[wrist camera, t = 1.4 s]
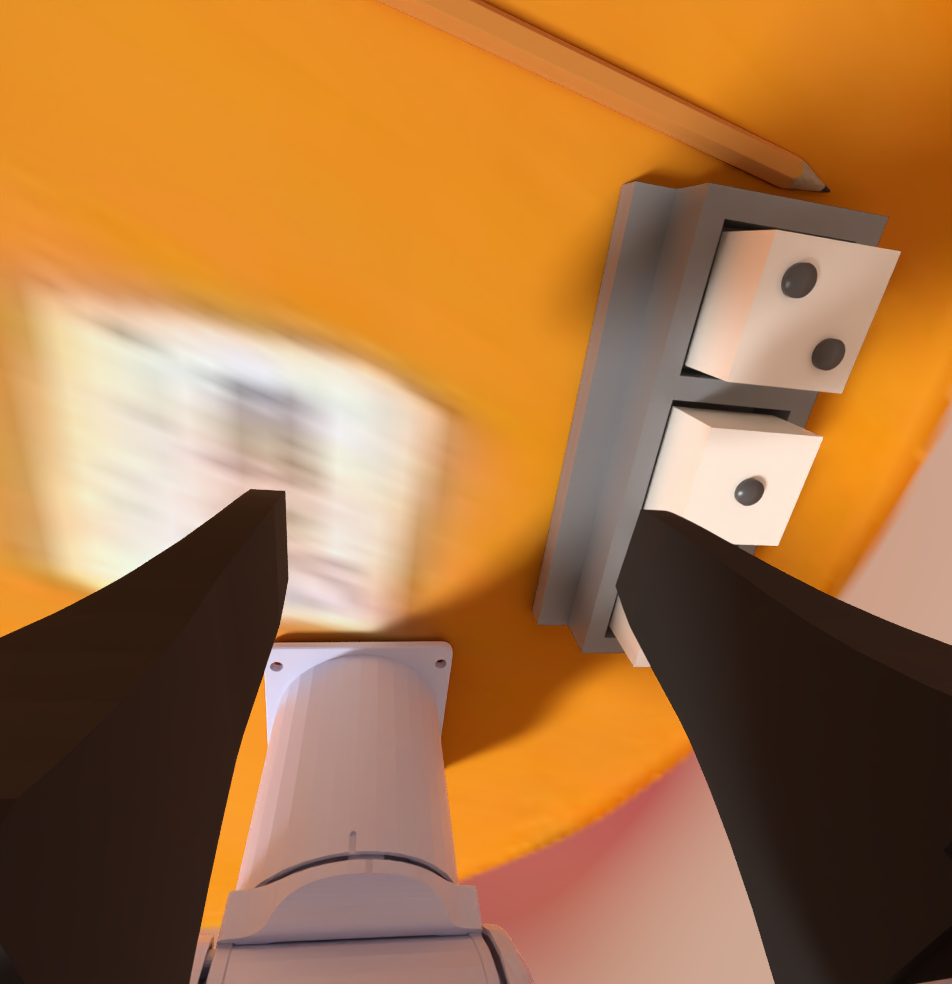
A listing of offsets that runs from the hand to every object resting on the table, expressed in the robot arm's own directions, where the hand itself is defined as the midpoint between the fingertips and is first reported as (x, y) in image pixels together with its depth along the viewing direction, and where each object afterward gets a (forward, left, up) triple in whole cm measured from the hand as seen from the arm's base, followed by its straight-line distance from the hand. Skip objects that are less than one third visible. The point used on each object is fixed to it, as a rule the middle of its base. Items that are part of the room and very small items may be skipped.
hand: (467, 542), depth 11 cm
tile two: (+5, -10, -7) cm, 13 cm away
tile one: (0, -10, -7) cm, 12 cm away
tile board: (0, -10, -10) cm, 14 cm away
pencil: (+11, -4, -10) cm, 15 cm away
